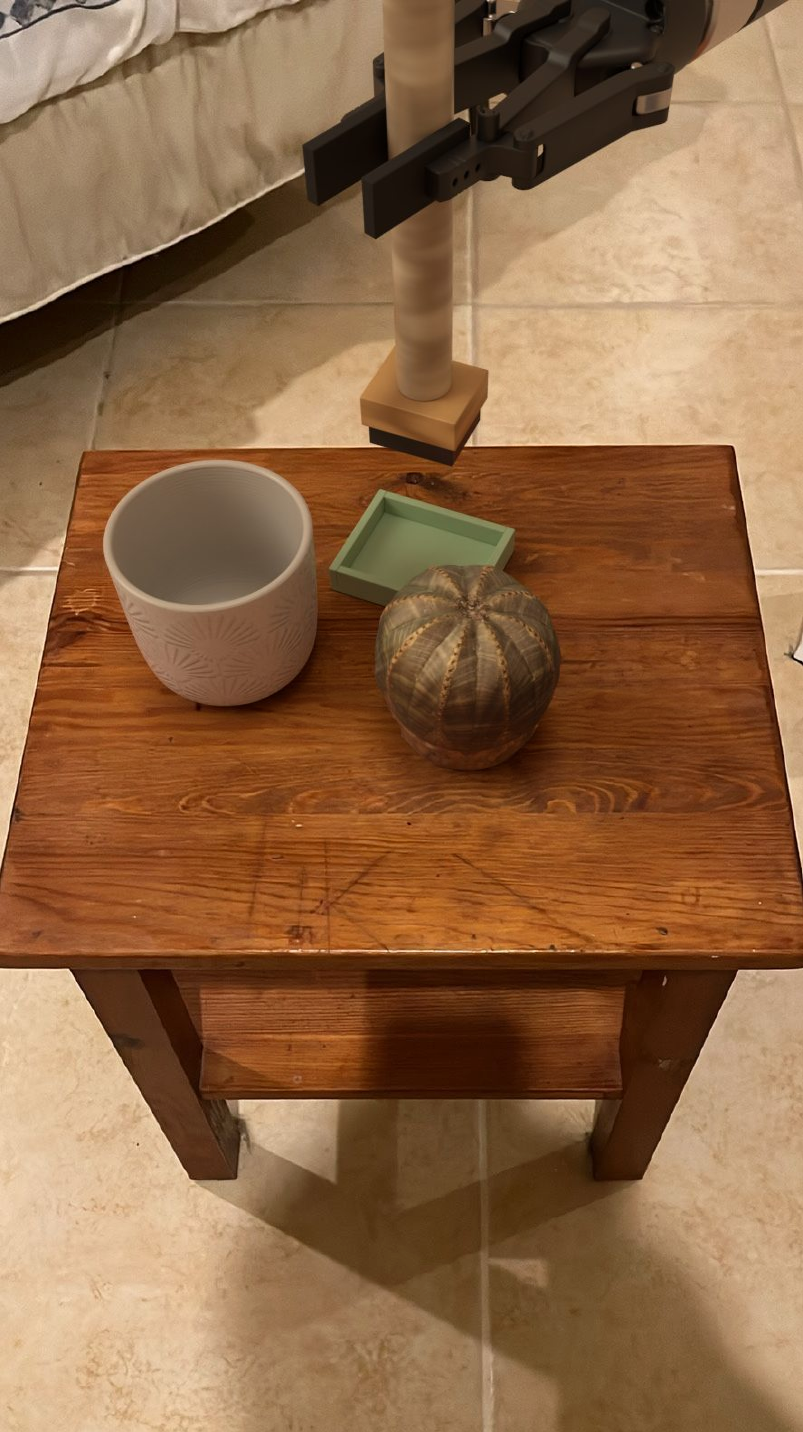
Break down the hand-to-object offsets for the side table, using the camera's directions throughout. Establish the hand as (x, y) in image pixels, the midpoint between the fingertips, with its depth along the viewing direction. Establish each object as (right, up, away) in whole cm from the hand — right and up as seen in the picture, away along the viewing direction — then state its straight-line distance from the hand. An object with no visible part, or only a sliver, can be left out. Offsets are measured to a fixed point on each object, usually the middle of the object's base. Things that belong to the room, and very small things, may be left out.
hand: (339, 192), depth 60 cm
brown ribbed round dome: (+7, -23, +21) cm, 32 cm away
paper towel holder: (+4, -5, +17) cm, 18 cm away
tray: (+4, -11, +28) cm, 31 cm away
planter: (-8, -17, +25) cm, 32 cm away
